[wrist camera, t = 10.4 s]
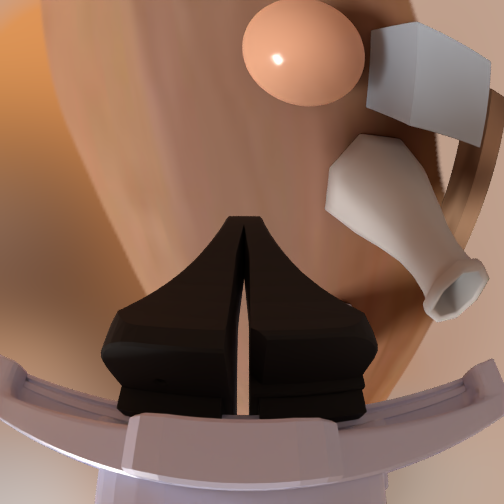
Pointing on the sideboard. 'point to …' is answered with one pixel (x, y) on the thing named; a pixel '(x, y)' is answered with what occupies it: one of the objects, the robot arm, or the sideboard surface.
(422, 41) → the slate block
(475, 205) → the walnut rail
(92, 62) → the sideboard surface
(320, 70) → the peach egg shape
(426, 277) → the flask
